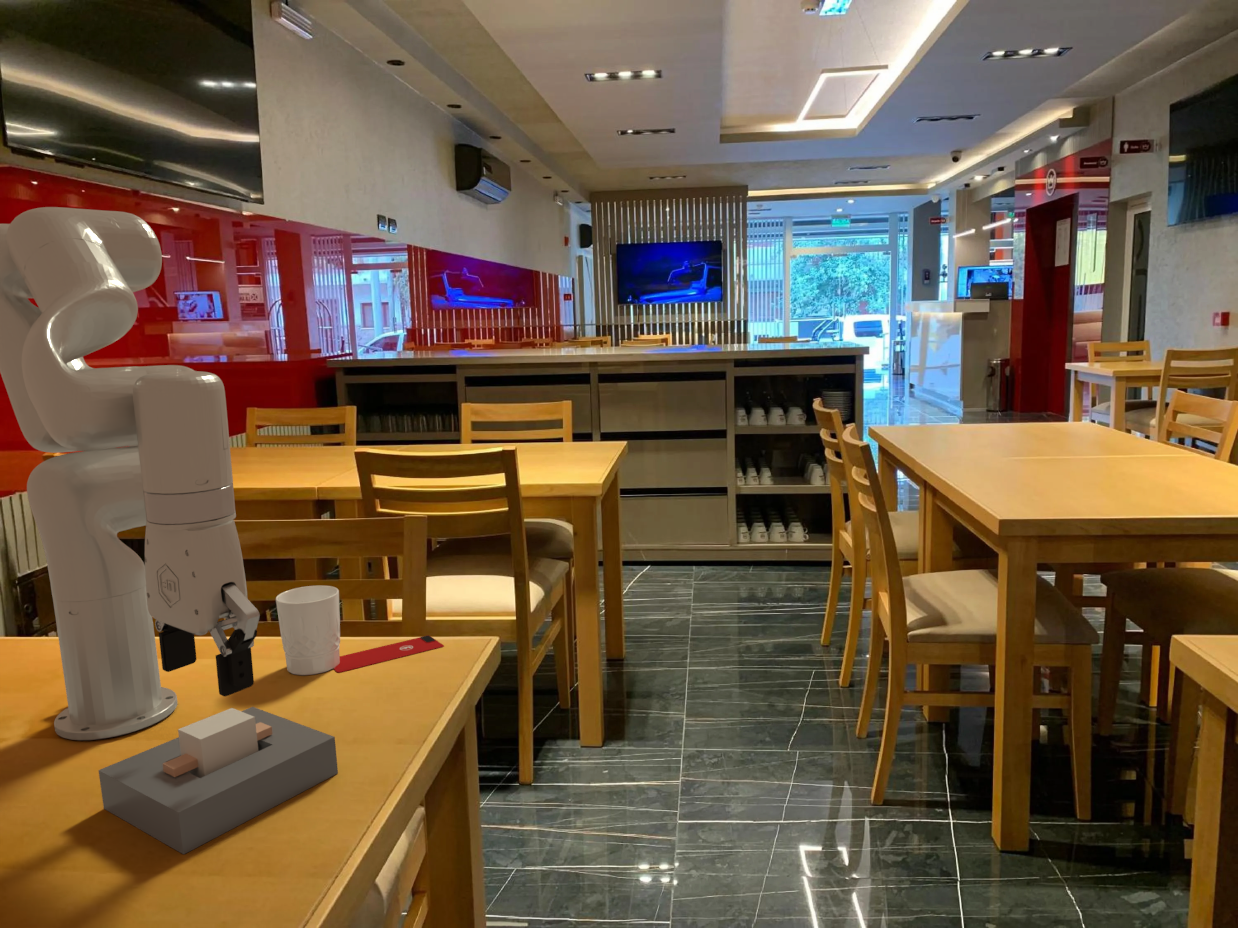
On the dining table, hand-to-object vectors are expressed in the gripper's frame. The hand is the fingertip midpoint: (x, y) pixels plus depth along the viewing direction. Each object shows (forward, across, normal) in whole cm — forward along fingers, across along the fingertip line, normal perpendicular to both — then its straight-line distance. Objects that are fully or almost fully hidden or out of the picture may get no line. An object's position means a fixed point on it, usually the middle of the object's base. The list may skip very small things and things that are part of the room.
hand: (207, 678), depth 84 cm
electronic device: (+13, -14, +33) cm, 38 cm away
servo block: (+10, +1, 0) cm, 10 cm away
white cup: (+12, -19, +25) cm, 33 cm away
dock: (+11, +1, 0) cm, 11 cm away
